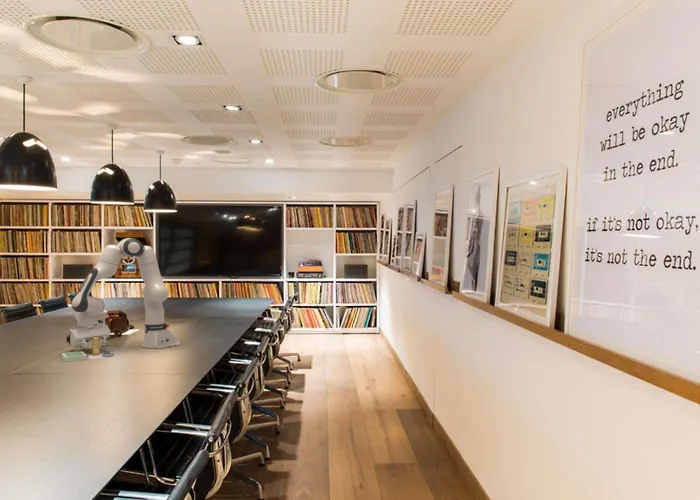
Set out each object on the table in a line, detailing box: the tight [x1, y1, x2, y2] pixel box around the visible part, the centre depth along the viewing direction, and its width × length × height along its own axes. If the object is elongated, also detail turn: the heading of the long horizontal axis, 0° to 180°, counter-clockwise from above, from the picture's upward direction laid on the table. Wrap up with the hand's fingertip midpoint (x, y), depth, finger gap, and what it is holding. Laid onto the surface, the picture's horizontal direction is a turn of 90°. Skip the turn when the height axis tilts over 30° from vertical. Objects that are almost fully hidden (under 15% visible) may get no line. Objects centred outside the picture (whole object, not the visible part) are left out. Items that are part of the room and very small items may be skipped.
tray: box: [61, 350, 88, 363], centre depth 267 cm, size 10×12×4 cm
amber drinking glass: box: [91, 336, 101, 355], centre depth 277 cm, size 4×4×10 cm
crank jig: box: [86, 344, 117, 360], centre depth 276 cm, size 13×12×7 cm
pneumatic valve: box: [66, 332, 91, 352], centre depth 289 cm, size 6×12×12 cm, turn 107°
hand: (95, 344), depth 277 cm, fingers open, 8 cm apart
